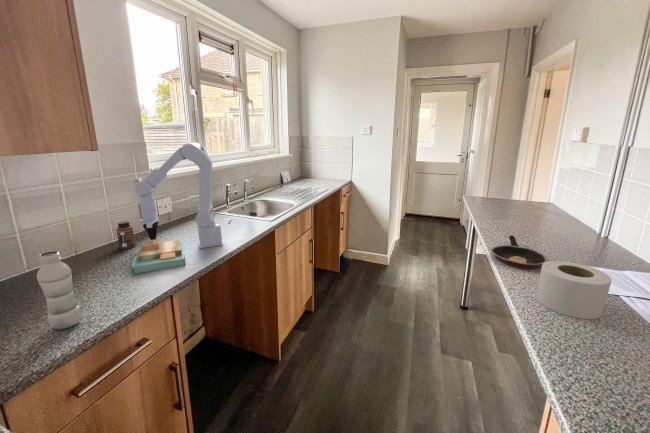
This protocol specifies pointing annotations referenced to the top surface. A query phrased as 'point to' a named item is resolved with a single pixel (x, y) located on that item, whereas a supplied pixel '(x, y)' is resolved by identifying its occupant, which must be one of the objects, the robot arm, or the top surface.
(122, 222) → the supplement bottle
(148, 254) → the board
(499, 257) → the frying pan
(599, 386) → the top surface
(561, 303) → the roll of tape
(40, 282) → the plastic bottle
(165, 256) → the tile
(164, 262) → the tray
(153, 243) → the tile
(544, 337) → the top surface
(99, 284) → the top surface
